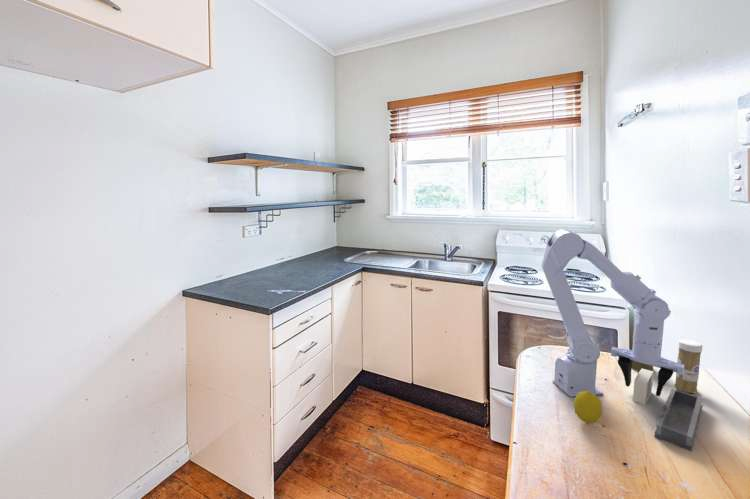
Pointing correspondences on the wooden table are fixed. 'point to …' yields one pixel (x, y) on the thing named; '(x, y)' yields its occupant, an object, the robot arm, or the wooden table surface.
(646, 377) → the door panel
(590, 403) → the lemon
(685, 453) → the wooden table surface
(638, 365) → the cork
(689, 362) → the sprinkles bottle
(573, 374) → the robot arm
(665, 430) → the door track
